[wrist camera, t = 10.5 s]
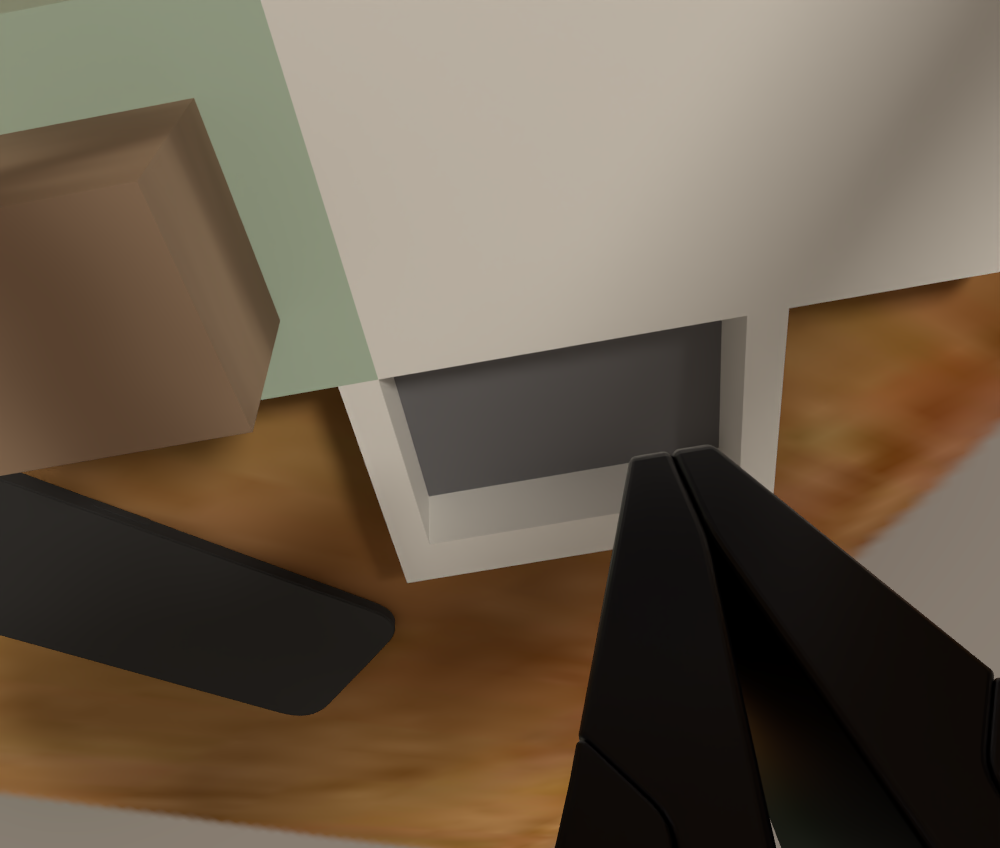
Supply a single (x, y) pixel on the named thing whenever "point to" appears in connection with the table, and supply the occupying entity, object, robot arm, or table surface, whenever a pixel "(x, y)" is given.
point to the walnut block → (124, 291)
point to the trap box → (552, 215)
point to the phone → (175, 603)
